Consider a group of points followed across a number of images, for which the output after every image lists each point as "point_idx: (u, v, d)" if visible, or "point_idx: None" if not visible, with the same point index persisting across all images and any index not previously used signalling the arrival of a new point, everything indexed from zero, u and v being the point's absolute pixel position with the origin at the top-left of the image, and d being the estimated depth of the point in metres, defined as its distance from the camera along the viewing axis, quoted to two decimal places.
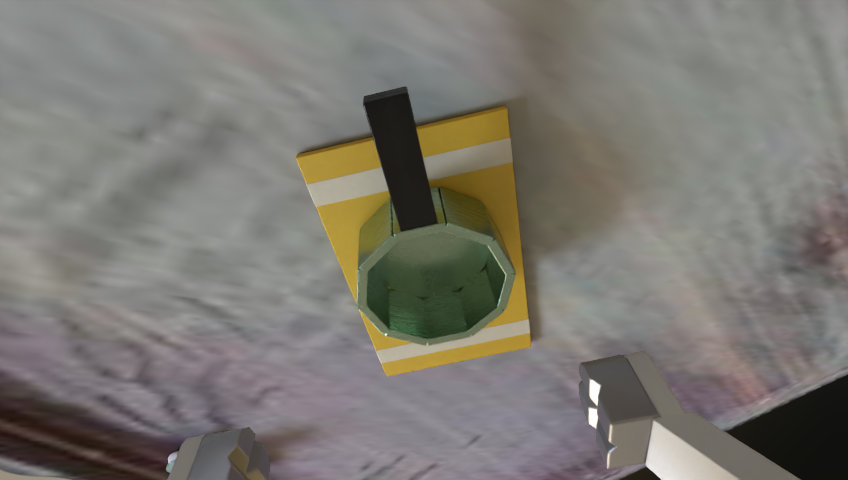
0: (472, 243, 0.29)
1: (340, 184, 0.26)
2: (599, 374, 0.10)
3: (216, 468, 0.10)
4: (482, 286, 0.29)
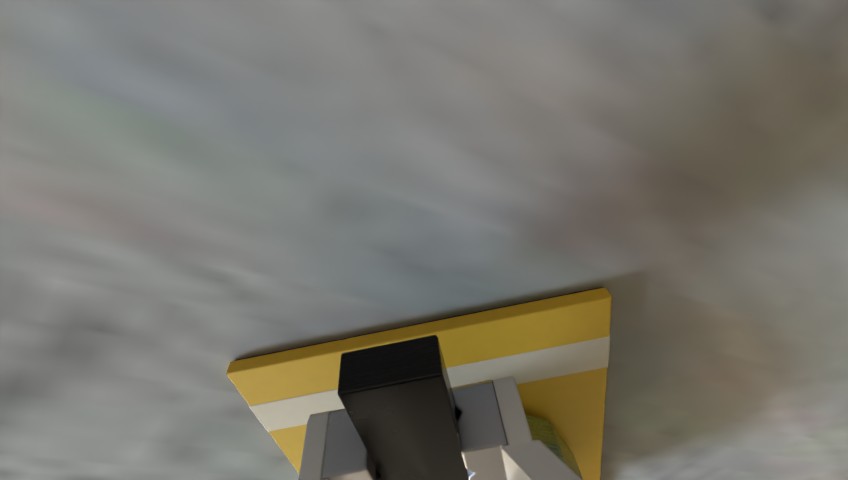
0: None
1: (308, 404, 0.15)
2: (463, 400, 0.10)
3: (352, 442, 0.10)
4: None
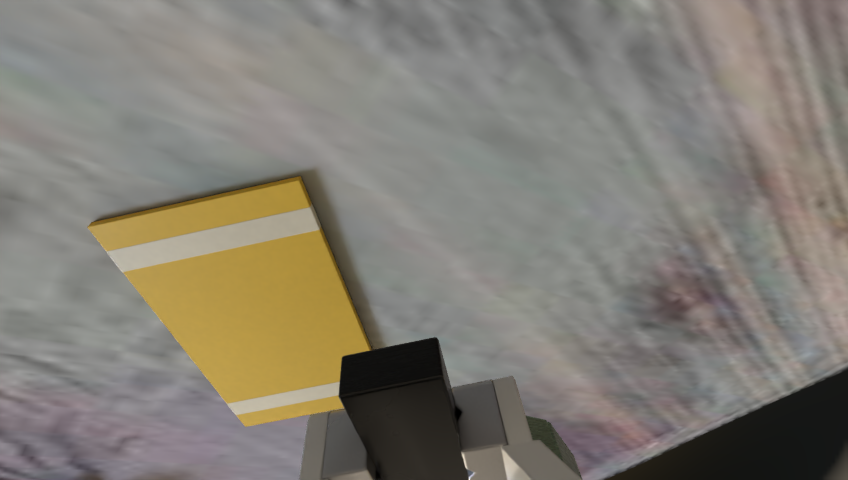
0: None
1: (142, 251, 0.26)
2: (463, 400, 0.10)
3: (352, 442, 0.10)
4: None
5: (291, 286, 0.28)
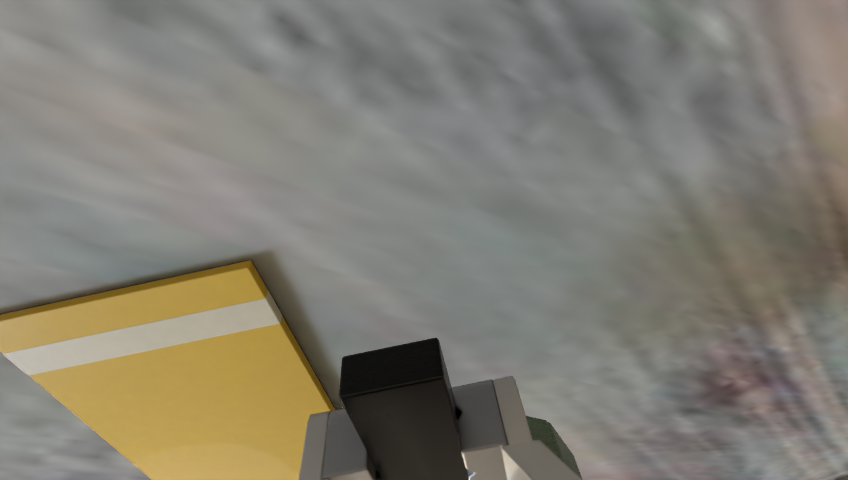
0: None
1: (49, 352, 0.20)
2: (464, 400, 0.10)
3: (352, 442, 0.10)
4: None
5: (249, 385, 0.22)
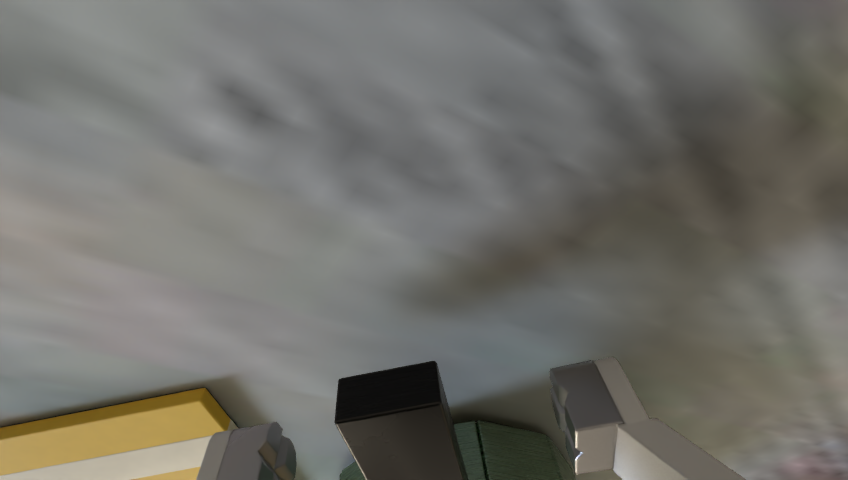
0: None
1: None
2: (567, 380, 0.10)
3: (246, 462, 0.10)
4: None
5: None
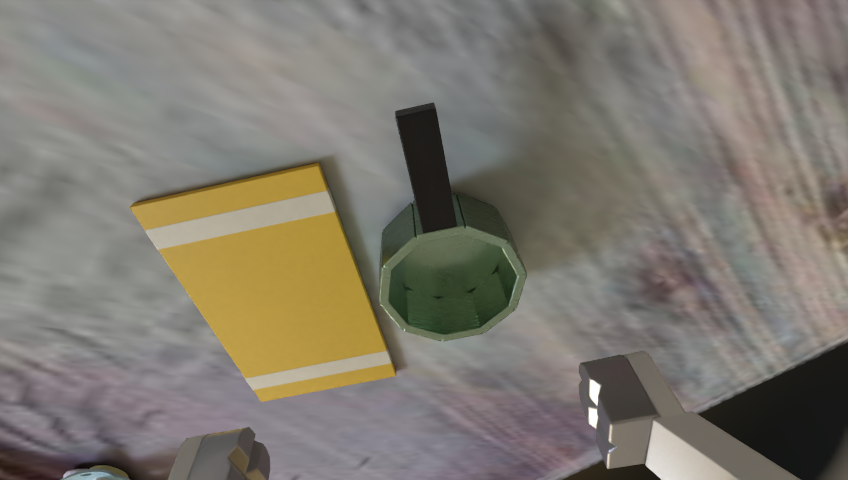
0: (485, 246, 0.31)
1: (176, 230, 0.29)
2: (599, 374, 0.10)
3: (216, 468, 0.10)
4: (494, 287, 0.31)
5: (308, 265, 0.31)
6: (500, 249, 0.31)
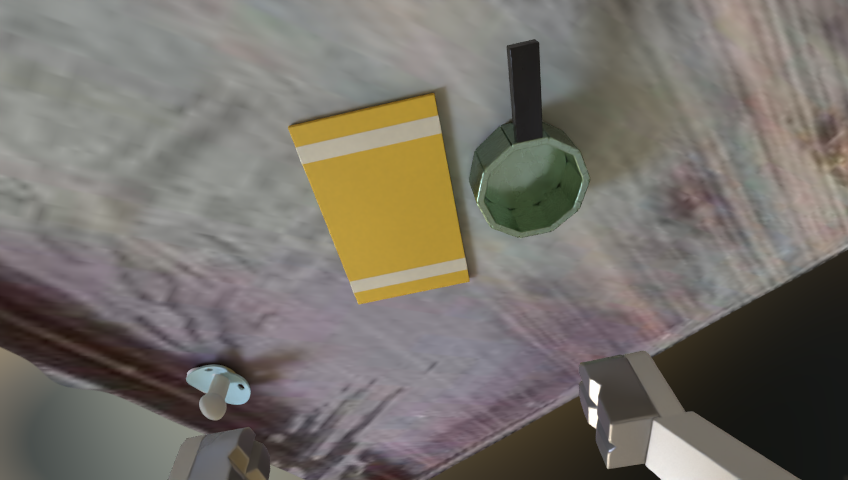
0: (552, 164, 0.40)
1: (319, 147, 0.37)
2: (599, 374, 0.10)
3: (216, 468, 0.10)
4: (558, 197, 0.40)
5: (415, 179, 0.39)
6: (563, 167, 0.40)
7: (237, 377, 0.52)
